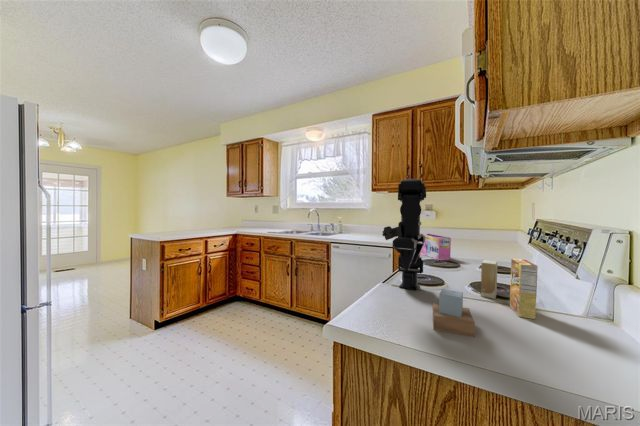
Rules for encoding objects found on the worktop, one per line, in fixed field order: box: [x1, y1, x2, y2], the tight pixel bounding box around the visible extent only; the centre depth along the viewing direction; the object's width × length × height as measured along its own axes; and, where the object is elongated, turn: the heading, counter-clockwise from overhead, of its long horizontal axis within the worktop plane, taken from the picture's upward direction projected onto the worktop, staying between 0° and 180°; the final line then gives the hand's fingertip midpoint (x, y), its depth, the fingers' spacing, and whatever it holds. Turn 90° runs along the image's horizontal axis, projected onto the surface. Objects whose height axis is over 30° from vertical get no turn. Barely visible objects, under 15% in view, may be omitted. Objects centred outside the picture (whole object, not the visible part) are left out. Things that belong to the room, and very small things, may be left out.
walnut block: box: [432, 302, 476, 338], centre depth 66 cm, size 9×9×4 cm
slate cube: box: [438, 288, 464, 317], centre depth 66 cm, size 5×5×5 cm
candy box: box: [509, 258, 539, 320], centre depth 75 cm, size 9×4×15 cm, turn 157°
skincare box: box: [480, 259, 498, 300], centre depth 89 cm, size 6×4×12 cm
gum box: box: [420, 233, 452, 261], centre depth 160 cm, size 24×8×14 cm, turn 9°
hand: (409, 267), depth 81 cm, fingers open, 9 cm apart
